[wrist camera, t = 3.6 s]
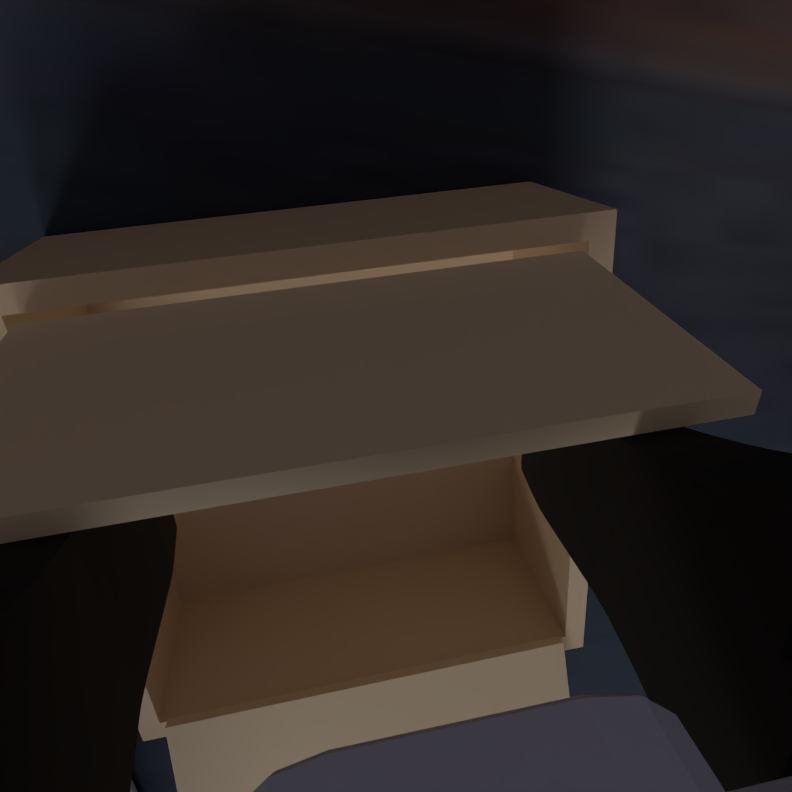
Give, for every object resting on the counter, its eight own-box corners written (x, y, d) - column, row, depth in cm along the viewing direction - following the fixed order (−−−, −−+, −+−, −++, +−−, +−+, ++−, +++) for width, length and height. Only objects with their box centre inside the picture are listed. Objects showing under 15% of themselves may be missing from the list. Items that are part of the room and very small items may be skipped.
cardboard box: (524, 542, 23) (583, 646, 19) (169, 610, 22) (143, 741, 17) (529, 181, 17) (617, 208, 13) (43, 236, 16) (-45, 289, 11)
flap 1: (754, 414, 9) (762, 390, 8) (-130, 566, 7) (-148, 542, 7) (580, 267, 13) (582, 250, 13) (21, 342, 12) (13, 323, 12)
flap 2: (563, 643, 18) (557, 636, 18) (165, 728, 17) (168, 719, 17) (583, 814, 19) (577, 804, 19) (200, 911, 17) (203, 898, 18)
